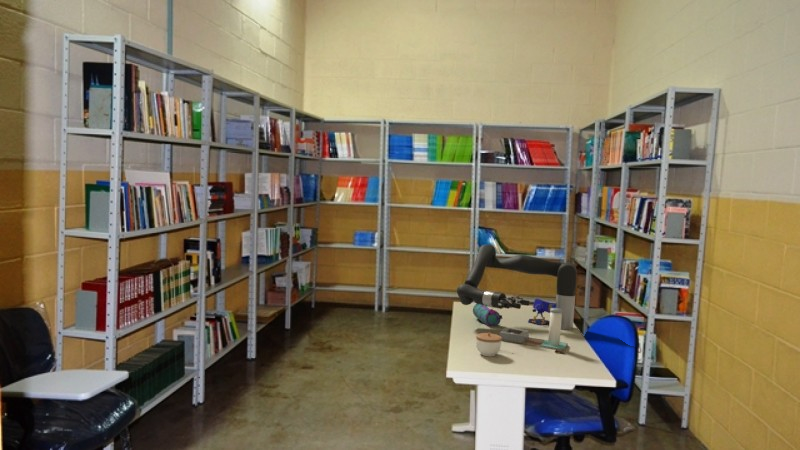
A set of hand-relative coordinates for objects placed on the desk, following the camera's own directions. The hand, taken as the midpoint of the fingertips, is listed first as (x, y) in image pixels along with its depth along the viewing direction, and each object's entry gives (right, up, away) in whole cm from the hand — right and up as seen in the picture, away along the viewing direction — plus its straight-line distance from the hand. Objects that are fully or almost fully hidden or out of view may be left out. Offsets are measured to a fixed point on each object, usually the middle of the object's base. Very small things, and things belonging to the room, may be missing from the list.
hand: (524, 304), depth 263 cm
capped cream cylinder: (+11, -17, -7) cm, 22 cm away
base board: (+2, -17, -3) cm, 18 cm away
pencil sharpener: (+19, -15, +39) cm, 46 cm away
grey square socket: (-5, -16, 0) cm, 16 cm away
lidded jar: (-20, -18, -21) cm, 35 cm away
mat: (+11, -17, -7) cm, 22 cm away
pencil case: (-13, -14, +33) cm, 38 cm away
